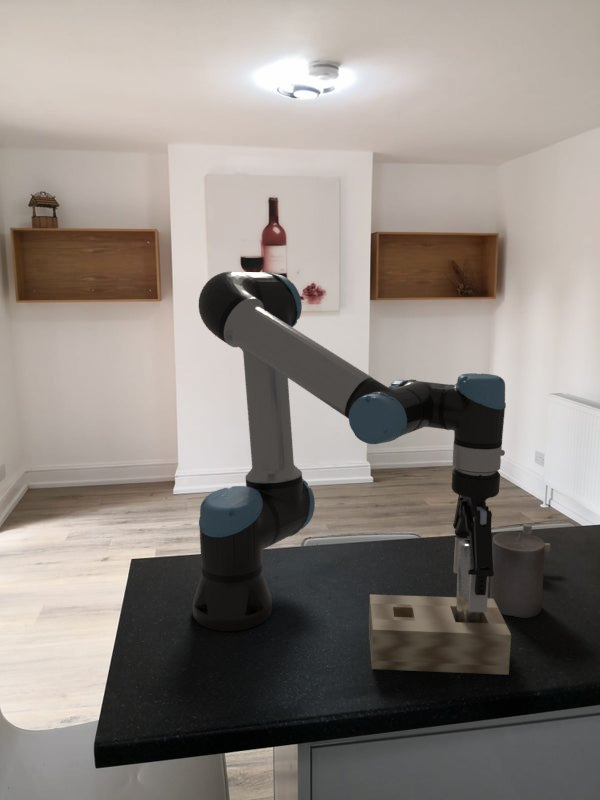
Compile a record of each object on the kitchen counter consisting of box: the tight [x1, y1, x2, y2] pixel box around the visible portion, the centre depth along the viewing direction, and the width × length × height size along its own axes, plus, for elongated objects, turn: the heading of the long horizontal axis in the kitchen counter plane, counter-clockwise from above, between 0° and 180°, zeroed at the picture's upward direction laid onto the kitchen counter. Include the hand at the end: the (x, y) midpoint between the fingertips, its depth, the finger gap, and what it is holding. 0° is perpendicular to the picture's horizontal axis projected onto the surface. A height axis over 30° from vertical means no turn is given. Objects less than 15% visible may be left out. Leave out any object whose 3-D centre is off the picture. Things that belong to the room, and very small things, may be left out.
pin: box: [456, 540, 481, 623], centre depth 106 cm, size 4×4×18 cm
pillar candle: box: [489, 530, 545, 619], centre depth 122 cm, size 10×10×15 cm
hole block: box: [368, 594, 512, 676], centre depth 108 cm, size 22×12×7 cm, turn 86°
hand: (468, 590), depth 106 cm, fingers open, 13 cm apart
